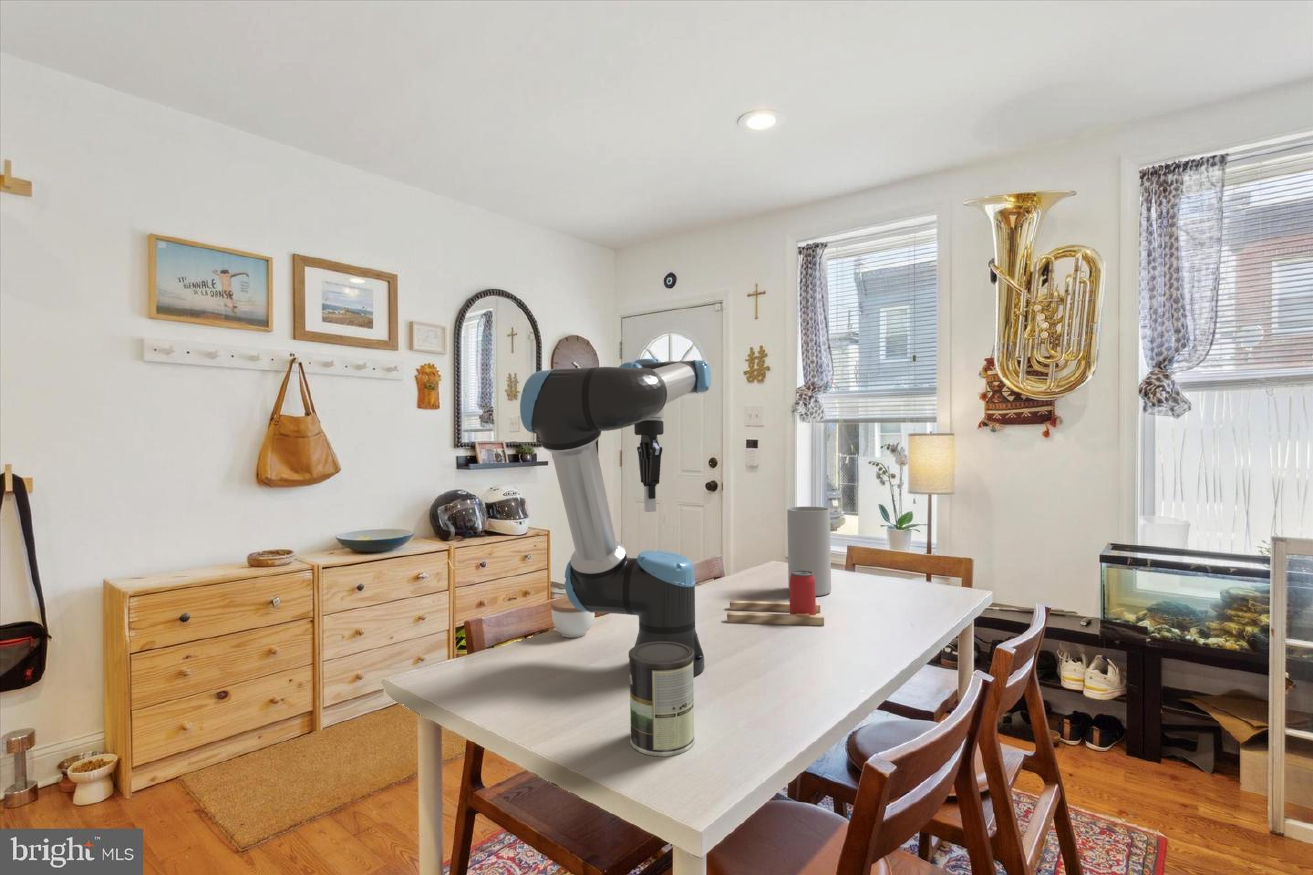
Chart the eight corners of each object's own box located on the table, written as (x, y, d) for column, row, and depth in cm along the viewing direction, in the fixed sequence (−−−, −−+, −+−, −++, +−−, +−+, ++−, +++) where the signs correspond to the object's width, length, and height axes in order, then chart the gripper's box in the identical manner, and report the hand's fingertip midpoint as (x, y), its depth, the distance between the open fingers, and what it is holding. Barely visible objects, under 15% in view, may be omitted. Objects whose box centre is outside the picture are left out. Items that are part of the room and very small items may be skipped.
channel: (727, 622, 163) (726, 612, 163) (730, 607, 176) (730, 599, 176) (824, 625, 158) (823, 615, 158) (819, 610, 172) (819, 601, 172)
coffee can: (620, 752, 97) (619, 659, 97) (641, 722, 107) (640, 638, 107) (686, 761, 94) (685, 665, 94) (701, 729, 104) (700, 643, 104)
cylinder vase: (815, 599, 184) (813, 512, 184) (780, 591, 193) (778, 509, 193) (839, 591, 192) (838, 508, 192) (804, 584, 201) (803, 505, 201)
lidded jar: (574, 643, 148) (573, 603, 148) (542, 635, 154) (541, 596, 154) (604, 631, 157) (604, 593, 156) (573, 624, 163) (573, 587, 163)
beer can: (821, 619, 163) (820, 573, 163) (802, 624, 160) (801, 576, 160) (803, 613, 169) (802, 568, 169) (784, 617, 166) (783, 571, 166)
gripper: (627, 420, 169) (628, 509, 169) (643, 419, 157) (644, 515, 157) (653, 420, 172) (655, 507, 172) (671, 419, 159) (673, 513, 160)
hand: (650, 511), depth 164 cm, fingers closed
